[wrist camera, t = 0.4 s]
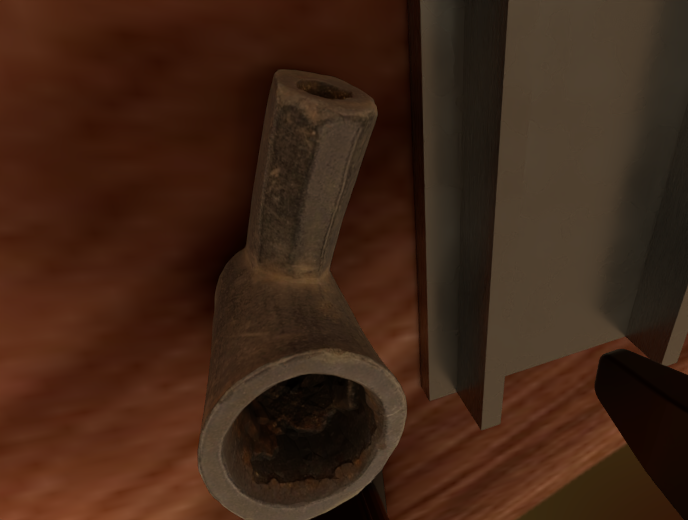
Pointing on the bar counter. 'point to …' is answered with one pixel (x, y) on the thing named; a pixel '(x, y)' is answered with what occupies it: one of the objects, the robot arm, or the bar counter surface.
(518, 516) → the bar counter surface
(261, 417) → the pipe
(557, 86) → the pipe cradle
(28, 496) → the bar counter surface
